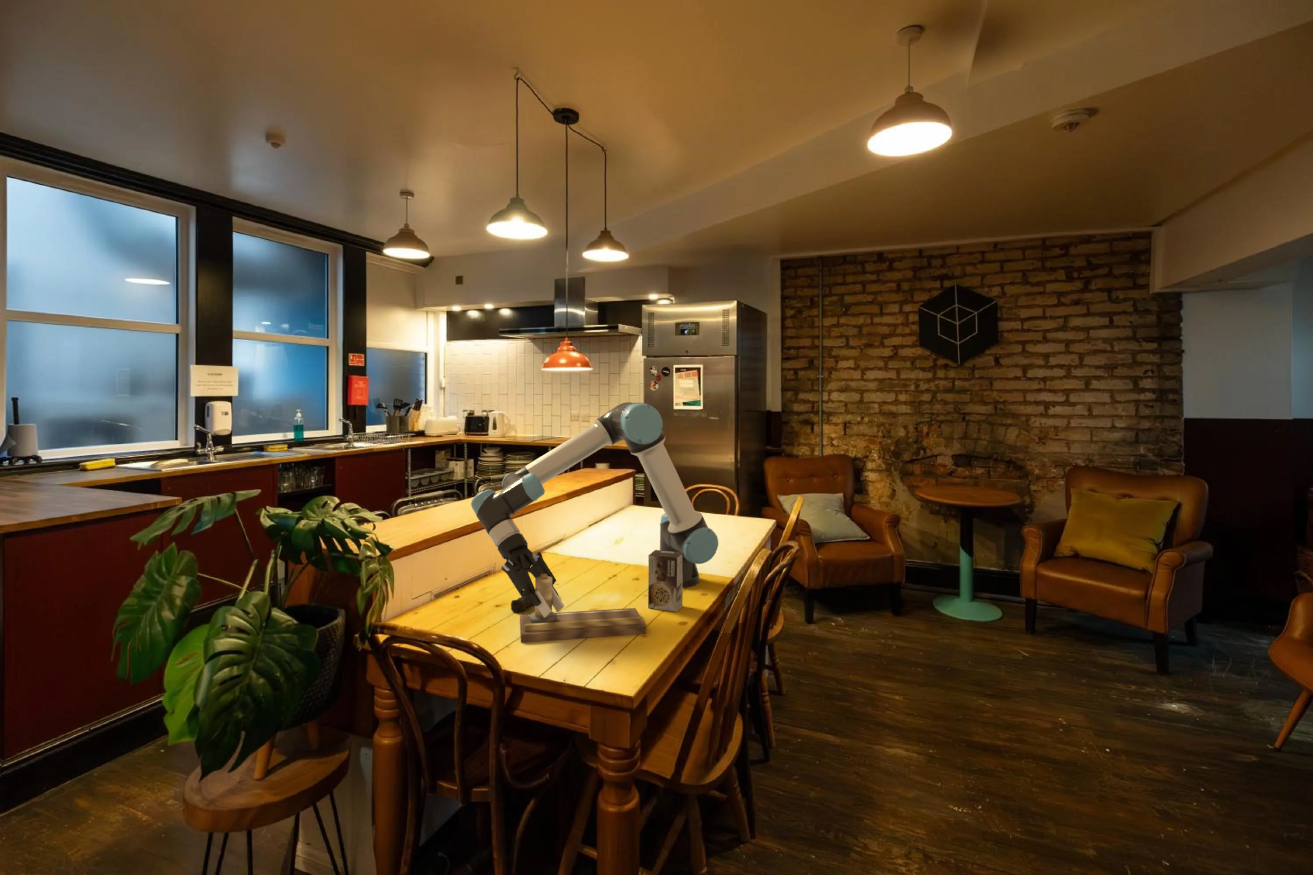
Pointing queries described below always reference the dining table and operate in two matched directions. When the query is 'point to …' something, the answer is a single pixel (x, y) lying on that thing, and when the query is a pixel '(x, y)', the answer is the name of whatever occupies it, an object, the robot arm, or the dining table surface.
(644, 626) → the walnut board
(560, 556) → the dining table surface
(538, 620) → the peg with round base
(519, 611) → the hand tool
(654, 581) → the coffee box
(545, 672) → the dining table surface
